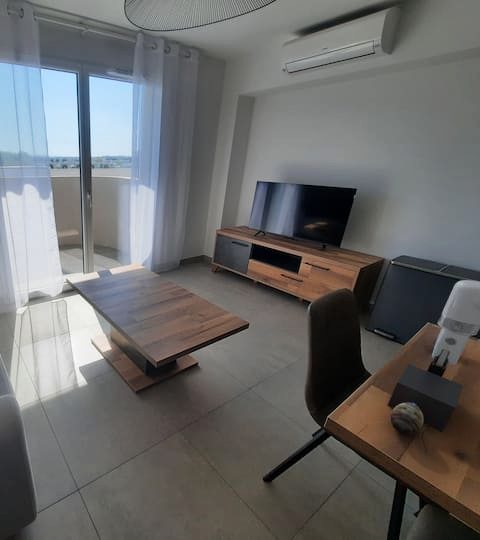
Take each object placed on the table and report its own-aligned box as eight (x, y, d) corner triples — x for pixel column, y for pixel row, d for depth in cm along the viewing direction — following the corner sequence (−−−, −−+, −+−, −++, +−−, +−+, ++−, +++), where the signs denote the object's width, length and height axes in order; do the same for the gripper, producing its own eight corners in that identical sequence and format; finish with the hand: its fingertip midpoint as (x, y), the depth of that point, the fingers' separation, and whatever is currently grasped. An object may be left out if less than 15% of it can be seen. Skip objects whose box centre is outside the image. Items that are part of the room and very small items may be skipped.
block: (452, 360, 100) (456, 351, 99) (428, 351, 104) (432, 343, 103) (456, 349, 105) (460, 341, 104) (433, 341, 110) (437, 333, 109)
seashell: (392, 413, 80) (403, 390, 77) (421, 427, 76) (433, 404, 73) (381, 430, 75) (392, 407, 72) (411, 447, 71) (423, 423, 68)
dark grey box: (398, 385, 89) (408, 363, 86) (450, 408, 81) (462, 385, 78) (387, 405, 82) (397, 382, 79) (442, 432, 74) (455, 407, 71)
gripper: (476, 339, 74) (447, 394, 81) (481, 320, 82) (455, 371, 89) (435, 327, 80) (411, 379, 86) (443, 310, 88) (421, 359, 95)
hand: (433, 375), depth 88 cm, fingers closed
